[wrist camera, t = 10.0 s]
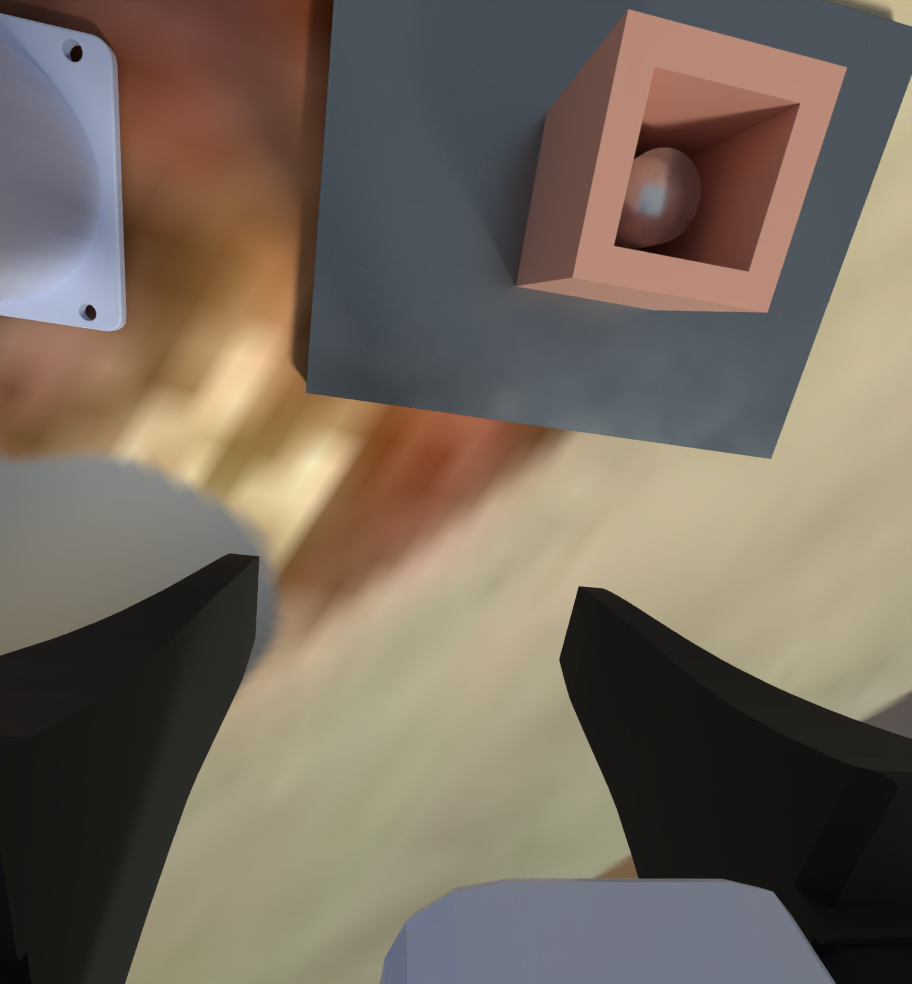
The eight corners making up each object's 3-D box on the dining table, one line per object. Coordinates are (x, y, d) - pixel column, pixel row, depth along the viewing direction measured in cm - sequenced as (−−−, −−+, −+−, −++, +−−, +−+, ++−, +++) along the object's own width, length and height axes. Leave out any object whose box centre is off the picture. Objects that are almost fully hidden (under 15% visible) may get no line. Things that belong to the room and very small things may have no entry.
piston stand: (310, 388, 19) (282, 415, 14) (347, -116, 15) (324, -314, 10) (754, 452, 22) (853, 492, 17) (898, 45, 17) (1085, -50, 13)
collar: (515, 286, 18) (572, 277, 12) (546, 113, 16) (628, 8, 10) (653, 310, 18) (767, 312, 13) (695, 146, 17) (846, 67, 11)
